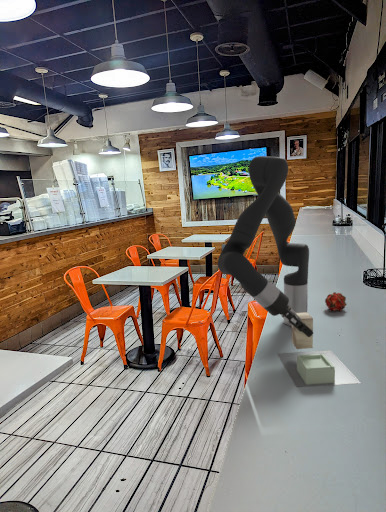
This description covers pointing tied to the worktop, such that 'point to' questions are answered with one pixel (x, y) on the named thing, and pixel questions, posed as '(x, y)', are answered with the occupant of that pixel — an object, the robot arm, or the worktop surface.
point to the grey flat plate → (340, 369)
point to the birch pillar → (299, 337)
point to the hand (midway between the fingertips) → (307, 330)
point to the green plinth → (315, 369)
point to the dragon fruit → (335, 301)
